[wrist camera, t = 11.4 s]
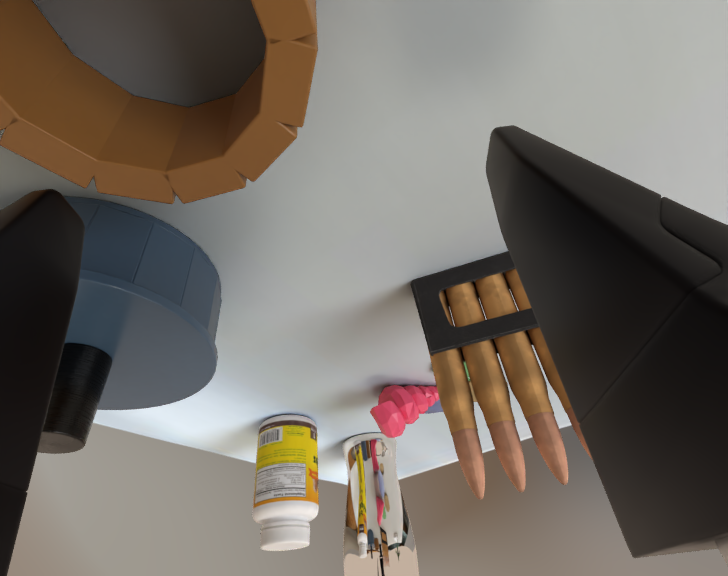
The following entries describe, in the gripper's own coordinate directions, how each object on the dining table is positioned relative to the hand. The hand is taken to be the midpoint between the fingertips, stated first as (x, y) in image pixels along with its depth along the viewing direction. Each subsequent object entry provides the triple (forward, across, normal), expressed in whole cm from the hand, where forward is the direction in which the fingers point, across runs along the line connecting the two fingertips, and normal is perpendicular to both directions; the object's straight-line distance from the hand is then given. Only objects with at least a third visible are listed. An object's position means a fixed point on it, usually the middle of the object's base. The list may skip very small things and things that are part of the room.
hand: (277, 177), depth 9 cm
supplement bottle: (+8, +8, +33) cm, 35 cm away
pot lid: (+4, +12, +11) cm, 17 cm away
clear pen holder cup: (+8, +1, +41) cm, 42 cm away
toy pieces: (+8, -6, +29) cm, 31 cm away
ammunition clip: (+8, -9, +14) cm, 19 cm away
